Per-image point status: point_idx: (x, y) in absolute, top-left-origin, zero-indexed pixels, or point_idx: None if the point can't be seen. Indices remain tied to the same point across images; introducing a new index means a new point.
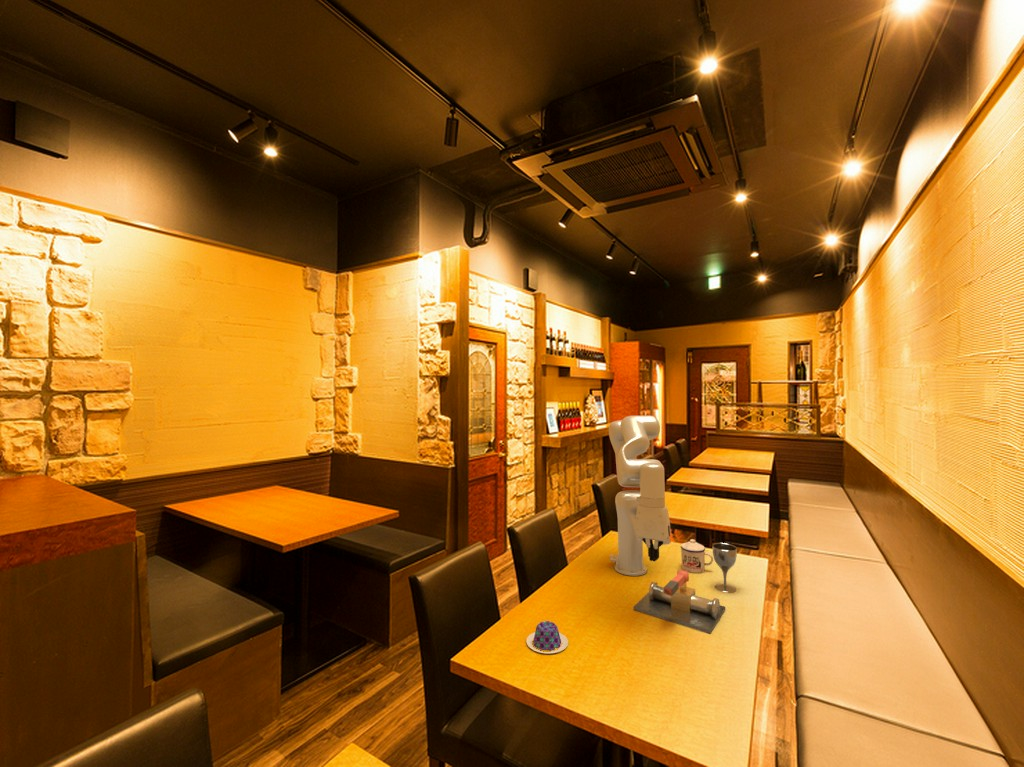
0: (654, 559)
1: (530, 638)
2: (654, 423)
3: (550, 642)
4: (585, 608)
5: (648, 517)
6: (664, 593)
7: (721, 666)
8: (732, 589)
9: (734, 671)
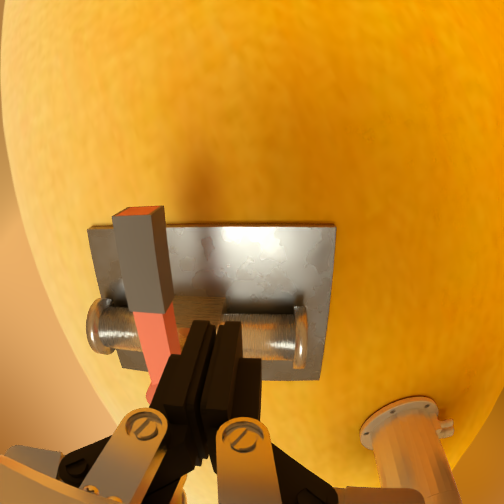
0: (190, 331)
1: None
2: None
3: None
4: (461, 144)
5: None
6: (161, 206)
7: (36, 101)
8: None
9: (19, 106)
